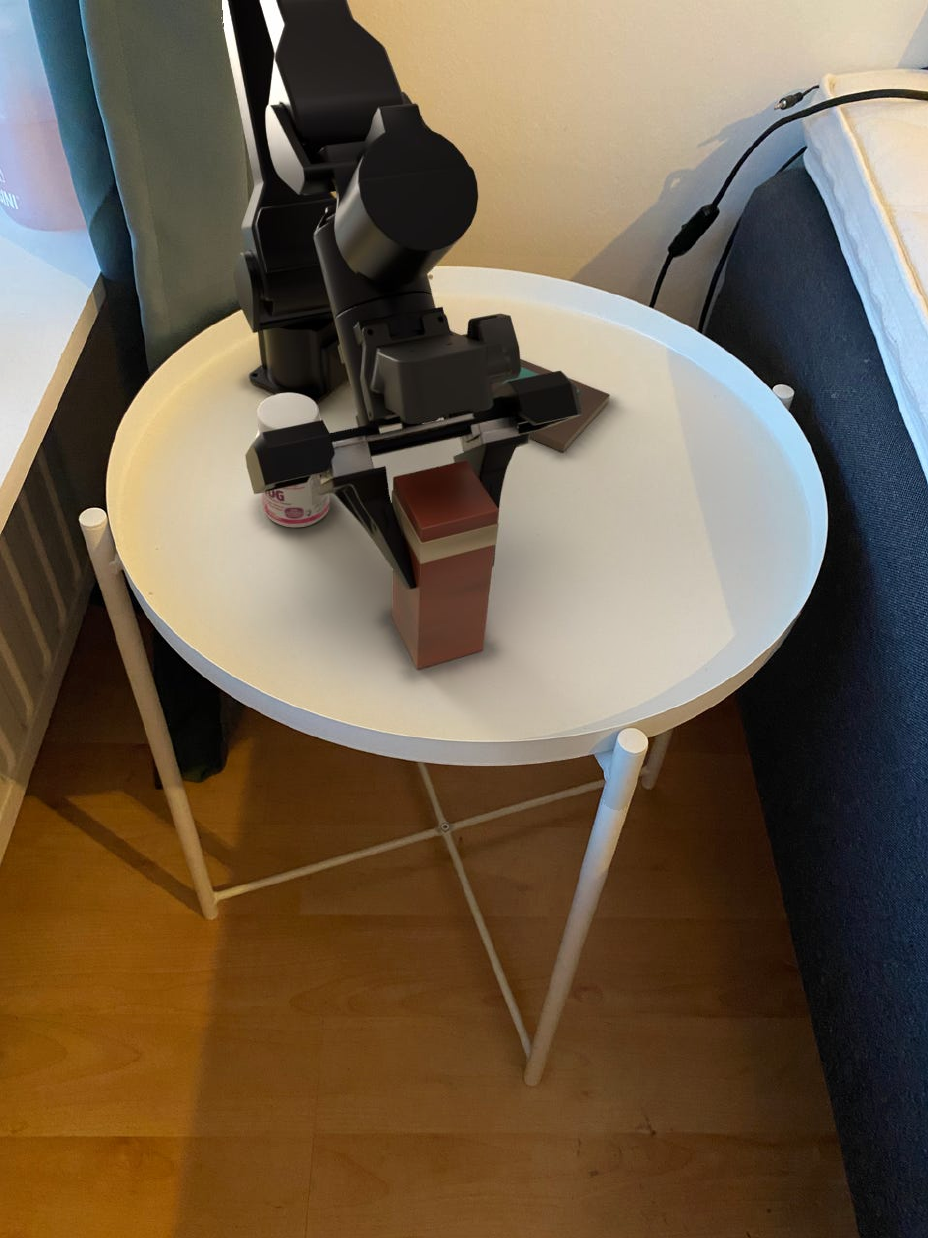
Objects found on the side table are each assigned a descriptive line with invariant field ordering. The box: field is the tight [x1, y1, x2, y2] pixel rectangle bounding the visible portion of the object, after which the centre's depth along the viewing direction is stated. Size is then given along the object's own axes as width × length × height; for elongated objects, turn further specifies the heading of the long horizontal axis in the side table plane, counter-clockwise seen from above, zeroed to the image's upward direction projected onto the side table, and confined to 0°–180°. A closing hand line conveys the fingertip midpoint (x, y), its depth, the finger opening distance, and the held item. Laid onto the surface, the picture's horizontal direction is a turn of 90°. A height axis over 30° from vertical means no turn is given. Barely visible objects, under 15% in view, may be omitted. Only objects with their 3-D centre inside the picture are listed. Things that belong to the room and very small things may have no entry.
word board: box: [451, 330, 611, 453], centre depth 79 cm, size 18×8×2 cm, turn 58°
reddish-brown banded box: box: [391, 460, 500, 670], centre depth 58 cm, size 5×5×12 cm
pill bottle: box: [254, 393, 331, 528], centre depth 66 cm, size 5×5×8 cm
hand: (450, 578), depth 56 cm, fingers closed on reddish-brown banded box, 4 cm apart
